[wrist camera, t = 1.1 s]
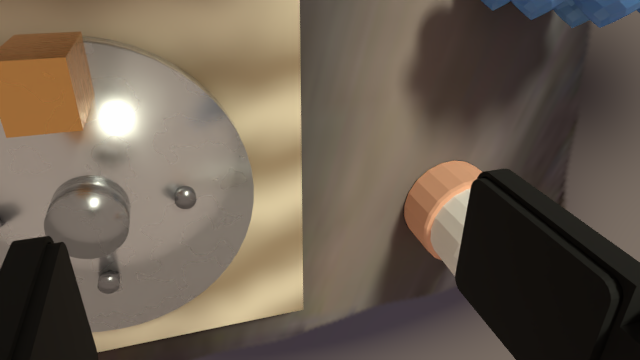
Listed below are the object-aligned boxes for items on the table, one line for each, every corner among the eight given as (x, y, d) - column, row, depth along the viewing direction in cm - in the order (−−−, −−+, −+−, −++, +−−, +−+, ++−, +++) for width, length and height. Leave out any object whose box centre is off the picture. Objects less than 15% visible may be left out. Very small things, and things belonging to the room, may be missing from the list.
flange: (-173, 37, 21) (-283, 78, 16) (238, 18, 26) (262, 45, 21) (-33, 342, 30) (-74, 436, 25) (257, 286, 35) (277, 355, 29)
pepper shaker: (410, 250, 41) (578, 467, 25) (397, 179, 37) (586, 380, 21) (486, 220, 42) (695, 408, 26) (481, 147, 38) (723, 315, 22)
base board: (-273, -44, 21) (-406, -32, 16) (289, -49, 28) (321, -42, 23) (-64, 364, 33) (-102, 445, 28) (296, 292, 39) (318, 347, 34)
